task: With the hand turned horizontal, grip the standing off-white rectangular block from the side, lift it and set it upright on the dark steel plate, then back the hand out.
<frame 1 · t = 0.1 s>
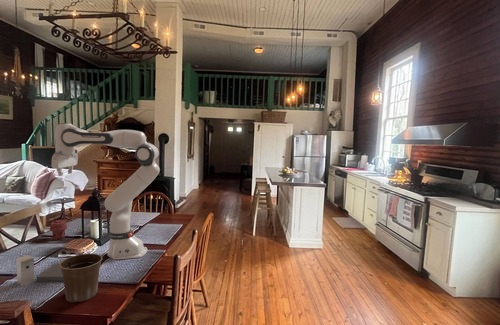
hand: (65, 174, 162), 48 cm above the table, tool pointing down, fingers open, 8 cm apart
off-white rectangular block: (25, 282, 133), on the table
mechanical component: (58, 238, 189), on the table
steel plate: (60, 274, 141), on the table
plant pot: (82, 295, 124), on the table
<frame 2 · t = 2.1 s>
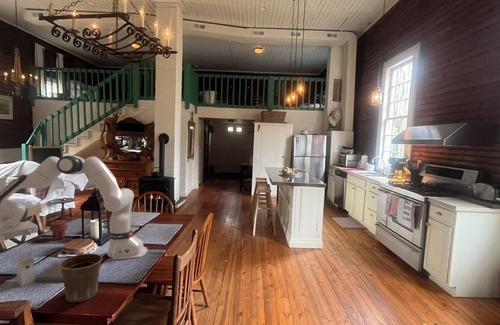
hand: (17, 236, 138), 20 cm above the table, tool horizontal, fingers open, 8 cm apart
nothing on the table moved.
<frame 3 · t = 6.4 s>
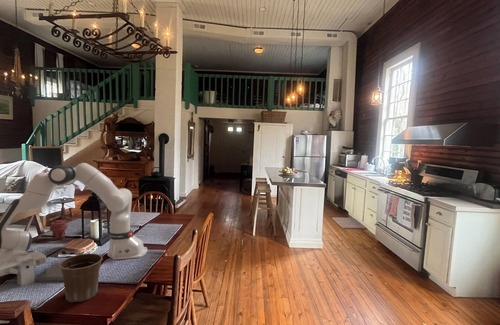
hand: (26, 269, 132), 7 cm above the table, tool horizontal, fingers closed on off-white rectangular block, 5 cm apart
off-white rectangular block: (25, 281, 133), on the table, touching gripper
everything else where it was.
when the fingers open (10 cm above the table, at t = 10.6 s): off-white rectangular block drops 1 cm, resting on steel plate.
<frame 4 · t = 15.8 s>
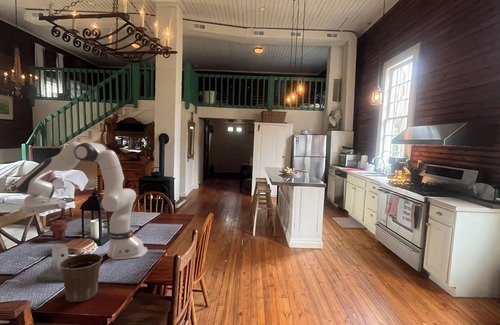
hand: (50, 209, 152), 30 cm above the table, tool horizontal, fingers open, 8 cm apart
off-white rectangular block: (60, 269, 141), point 2 cm above the table, touching steel plate
everything else where it was.
at the end: off-white rectangular block inside the target area on the steel plate (0.0 cm from its centre), point 2.5 cm above the steel plate's base; off-white rectangular block tilted 0°; the gripper is holding nothing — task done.
